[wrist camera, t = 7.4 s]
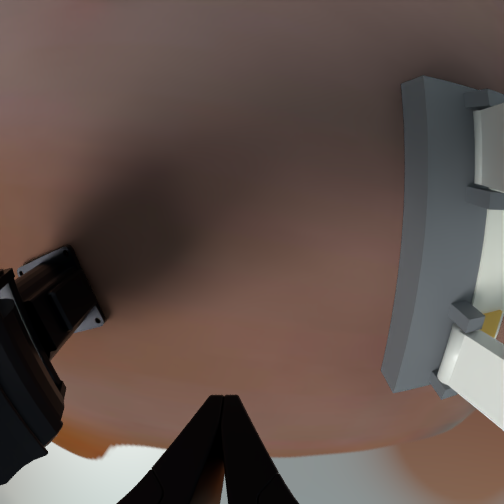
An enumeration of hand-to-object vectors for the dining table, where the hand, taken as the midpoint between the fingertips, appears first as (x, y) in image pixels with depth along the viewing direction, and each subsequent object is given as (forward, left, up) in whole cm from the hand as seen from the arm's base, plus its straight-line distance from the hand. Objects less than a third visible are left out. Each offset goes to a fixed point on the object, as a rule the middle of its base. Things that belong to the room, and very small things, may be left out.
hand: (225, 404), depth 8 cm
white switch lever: (+13, -10, -8) cm, 18 cm away
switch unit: (+15, -3, -12) cm, 19 cm away
